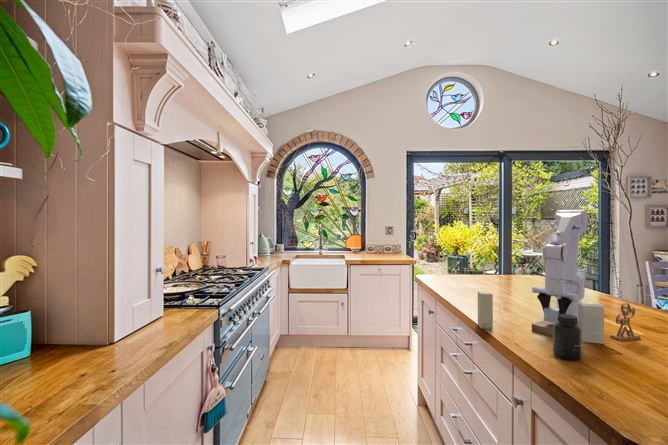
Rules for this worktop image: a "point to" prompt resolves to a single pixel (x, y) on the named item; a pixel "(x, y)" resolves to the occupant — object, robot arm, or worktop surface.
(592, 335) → the skincare box
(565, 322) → the supplement bottle
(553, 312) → the slate cube
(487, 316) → the box
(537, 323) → the walnut block
